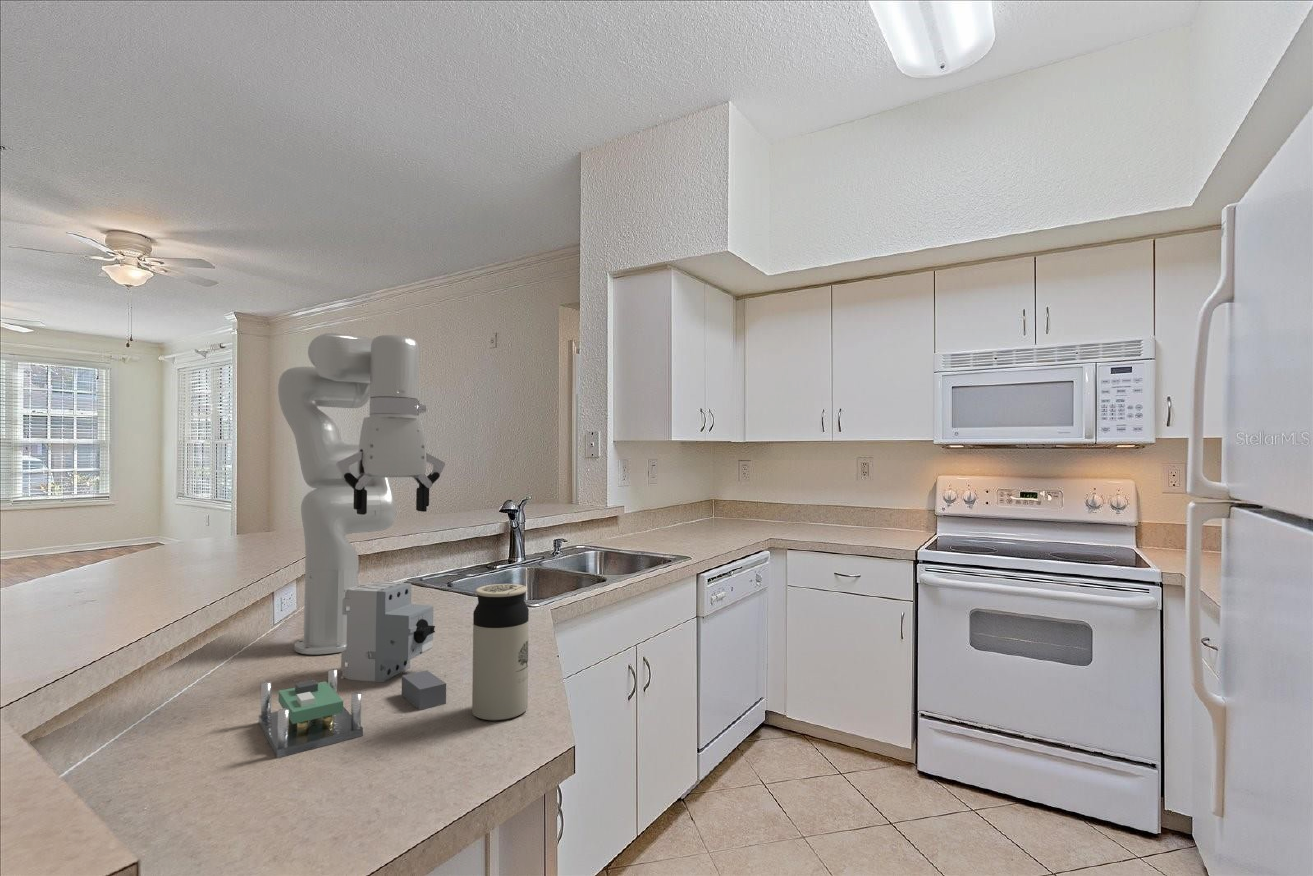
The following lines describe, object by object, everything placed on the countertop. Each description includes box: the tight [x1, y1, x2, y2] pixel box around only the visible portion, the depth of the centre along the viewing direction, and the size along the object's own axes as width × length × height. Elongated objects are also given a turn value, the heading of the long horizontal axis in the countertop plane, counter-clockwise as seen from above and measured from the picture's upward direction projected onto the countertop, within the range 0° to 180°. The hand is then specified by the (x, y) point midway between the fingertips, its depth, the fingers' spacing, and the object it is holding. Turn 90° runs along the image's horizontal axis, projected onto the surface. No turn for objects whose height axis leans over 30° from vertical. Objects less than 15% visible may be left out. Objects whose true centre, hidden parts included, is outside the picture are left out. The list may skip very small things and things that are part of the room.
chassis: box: [258, 668, 364, 759], centre depth 87 cm, size 14×10×6 cm
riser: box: [401, 670, 447, 711], centre depth 98 cm, size 8×4×3 cm, turn 40°
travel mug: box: [471, 583, 530, 722], centre depth 94 cm, size 8×8×18 cm
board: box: [278, 679, 344, 724], centre depth 87 cm, size 10×6×2 cm, turn 40°
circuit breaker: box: [340, 581, 436, 683], centre depth 110 cm, size 8×14×15 cm, turn 78°
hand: (392, 512), depth 106 cm, fingers open, 9 cm apart
